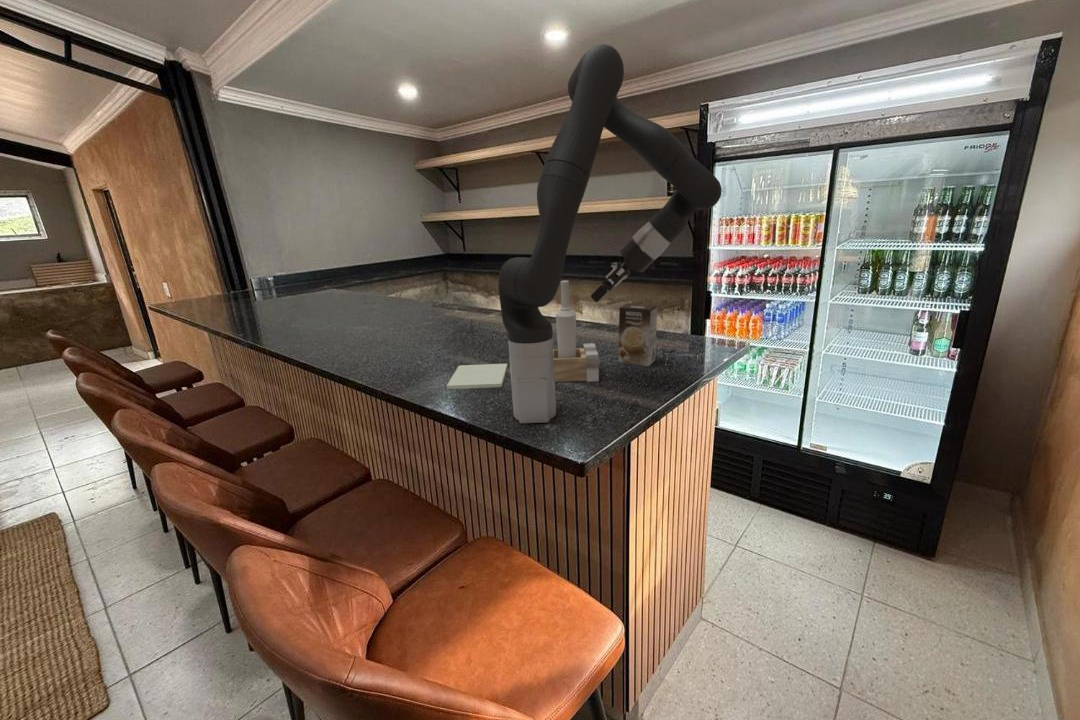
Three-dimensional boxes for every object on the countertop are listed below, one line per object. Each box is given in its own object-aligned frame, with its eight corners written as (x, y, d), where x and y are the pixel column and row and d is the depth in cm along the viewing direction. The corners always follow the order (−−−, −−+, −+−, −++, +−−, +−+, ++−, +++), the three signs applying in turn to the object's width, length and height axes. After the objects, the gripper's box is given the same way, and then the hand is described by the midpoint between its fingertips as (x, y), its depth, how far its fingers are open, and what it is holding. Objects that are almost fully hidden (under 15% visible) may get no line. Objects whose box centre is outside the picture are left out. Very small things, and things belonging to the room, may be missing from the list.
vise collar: (598, 381, 114) (598, 355, 112) (538, 383, 115) (537, 357, 113) (594, 365, 126) (593, 341, 124) (539, 367, 127) (538, 343, 125)
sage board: (501, 387, 114) (501, 383, 113) (447, 389, 114) (446, 385, 114) (507, 366, 129) (507, 363, 129) (459, 368, 129) (458, 365, 129)
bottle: (571, 379, 116) (568, 283, 109) (554, 376, 119) (550, 282, 111) (580, 373, 120) (578, 280, 113) (564, 370, 123) (560, 279, 115)
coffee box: (617, 362, 127) (617, 307, 123) (625, 356, 133) (626, 302, 128) (648, 367, 123) (650, 309, 118) (656, 360, 128) (658, 304, 123)
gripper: (636, 234, 111) (590, 281, 117) (630, 237, 98) (579, 290, 104) (657, 255, 111) (611, 301, 117) (654, 261, 98) (602, 312, 104)
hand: (596, 296), depth 111 cm, fingers open, 8 cm apart
